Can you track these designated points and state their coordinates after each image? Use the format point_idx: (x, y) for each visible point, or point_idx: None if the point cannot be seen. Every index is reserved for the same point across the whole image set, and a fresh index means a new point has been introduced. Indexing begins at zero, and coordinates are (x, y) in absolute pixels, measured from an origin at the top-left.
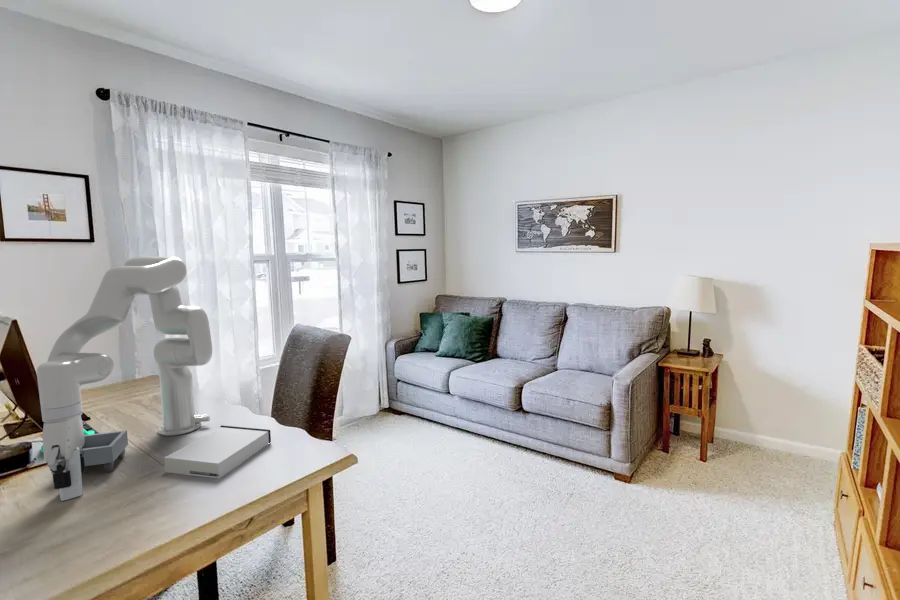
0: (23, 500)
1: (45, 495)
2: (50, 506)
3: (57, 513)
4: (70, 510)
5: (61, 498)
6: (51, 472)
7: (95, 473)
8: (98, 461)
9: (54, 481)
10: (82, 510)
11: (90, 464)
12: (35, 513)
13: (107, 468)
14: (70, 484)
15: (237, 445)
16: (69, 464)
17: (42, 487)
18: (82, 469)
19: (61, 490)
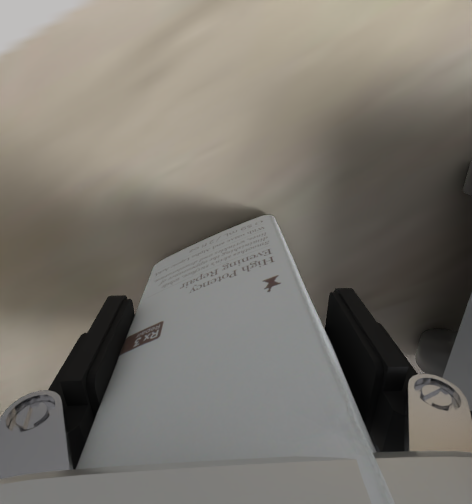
0: (249, 21)
1: (271, 139)
2: (120, 229)
3: (40, 291)
4: (61, 330)
5: (152, 272)
6: (2, 417)
7: (445, 286)
8: (463, 363)
9: (92, 332)
10: (54, 371)
11: (468, 319)
12: (55, 188)
13: (421, 358)
14: None
15: None
16: None
17: (408, 60)
18: None
19: (142, 301)
